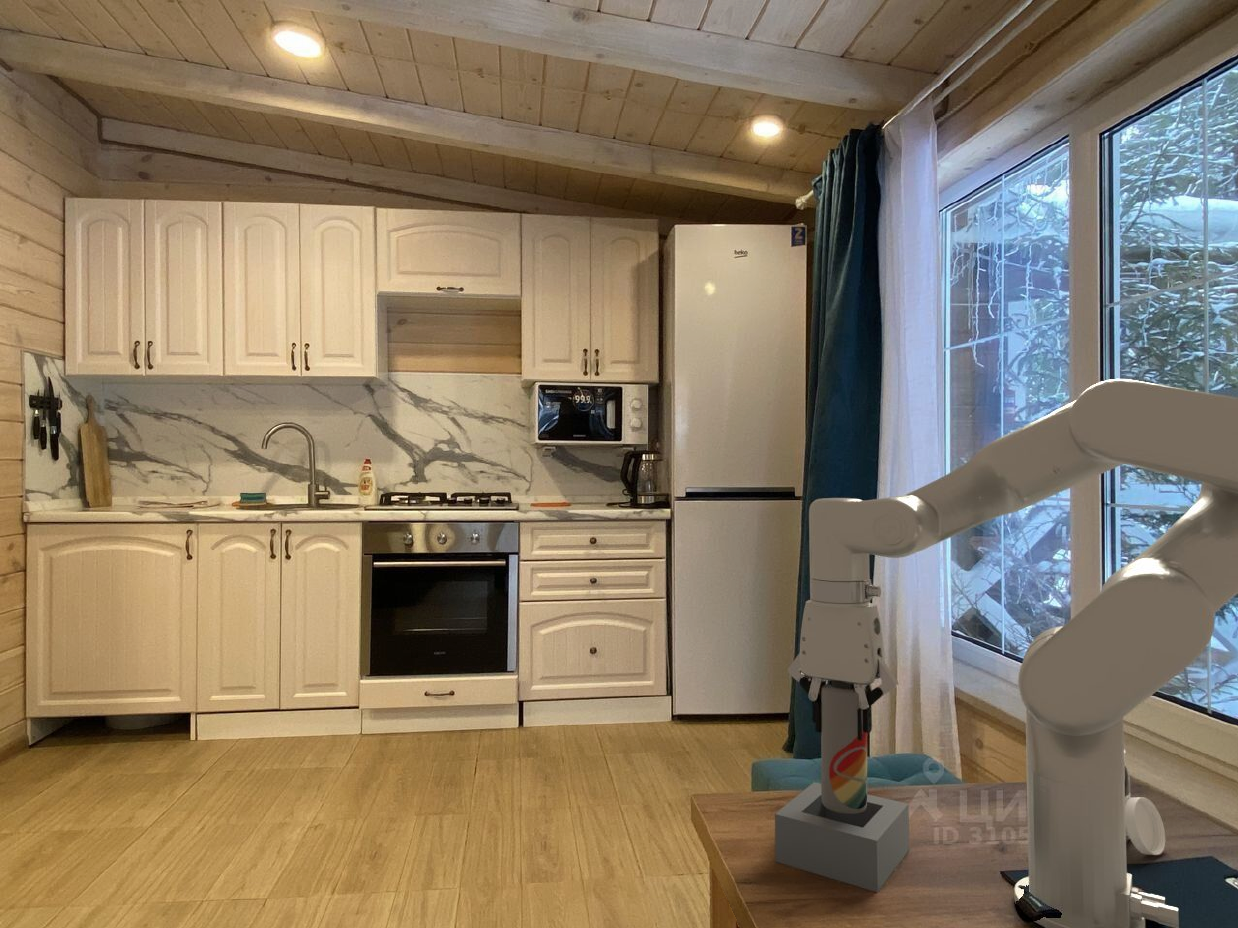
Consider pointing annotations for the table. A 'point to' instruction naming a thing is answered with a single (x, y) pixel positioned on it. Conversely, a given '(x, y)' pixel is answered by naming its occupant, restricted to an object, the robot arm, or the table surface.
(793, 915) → the table surface
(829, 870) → the sleeve
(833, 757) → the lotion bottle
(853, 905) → the table surface
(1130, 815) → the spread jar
